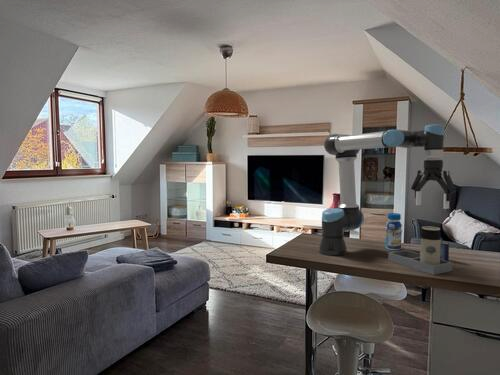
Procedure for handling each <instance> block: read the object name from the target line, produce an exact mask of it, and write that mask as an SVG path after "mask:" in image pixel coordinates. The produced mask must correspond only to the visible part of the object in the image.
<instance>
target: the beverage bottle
mask: <svg viewBox="0 0 500 375" xmlns="http://www.w3.org/2000/svg"><path fill="white" fill-rule="evenodd" d="M401 216H402V215H401V214H400V213H397V212H396V213H395V212H388V213H387V220H388V221H387V222H386V225H385V248H386V249H387V250H390V251H402V233H403V229H402V227H403V224H402V222H401V220H402V218H401Z"/></svg>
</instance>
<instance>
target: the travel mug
mask: <svg viewBox="0 0 500 375" xmlns="http://www.w3.org/2000/svg"><path fill="white" fill-rule="evenodd" d="M421 229H422V232H421V233H420V248H419V249H420V252H419V253H420V262H423V263H426V264H429V265H433V266H434V265H439V264H440V245H441V238H442V236H441V234H440V230H441V228H440V227H438V226H437V227H436V226H430V225H429V226H427V225H425V226H421Z"/></svg>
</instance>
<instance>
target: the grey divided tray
mask: <svg viewBox="0 0 500 375" xmlns="http://www.w3.org/2000/svg"><path fill="white" fill-rule="evenodd" d="M387 256H388V257H387V258H388V259H387V260H388V261H389V262H392V263H395V264H399V265H401V266H405V267H408V268H411V269H414V270H417V271H419V272H423V273H426V274H429V275H433V276H434V275H440V274H444V273H449V272H453V262H452V261H445V260H442V259H440V264H439V265H434V266H433V265H429V264H426V263H423V262H420V252H415V251H411V250H408V249H403V250H402V249H401V250H395V251H391V252H388V253H387Z"/></svg>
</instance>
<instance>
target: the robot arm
mask: <svg viewBox="0 0 500 375" xmlns="http://www.w3.org/2000/svg"><path fill="white" fill-rule="evenodd" d="M444 128H445V127H444V125H443V124H437V123H436V124H427V125H425V126H424V129H422V130H404V129H403V130H402V129H388V130H383V131H382V130H381V131H375V132H367V133H359V134H358V133H357V134H342V133H340V134H337V133H334V134H330V135H328V136H327V137H326V139H325V141H323V142H324V143H323V147H324V150H325V151H326V153H328V154H329V155H331V156H335V157H334V158H335V161H337V162H338V177H339V179H338V180H339V181H338V182H339V195H340V196H339V197H340V200H339V201H340V204H339V205H338V206H337V207H335V208H333V207H332V208H327V209H325V210H323V211H322V212H321V213H322V214H321V239H320V242H319V245H318V253H320V254H323V255H328V256H344V255H346V254H347V253H348V247H347V245H346V242H345V239H344V233H345V232H348V231H354V230H356V229H359V228H361V227H362V225H363V224H364V221H365V216H364V212H362V210H361V209H360V205H359V204H357V192H356V172H355V171H356V170H355V160H356V159H357V158H358V154H359V152H360V151H361V150H368V149H383V148H398V147H400V148H402V149H403V148H404V149H410V148H421V147H422V148H423V149H424V150H423V153H424V154H423V159H424V161H423V170H422V169H420V170H419V169H418V170H417V174H416V176H415V179H414V181H413V183H412V185H411V190H413V191H414V198H415V206H422V189H423V187H424V186H426V184H427V183H428V182H429V181H433V182H434V181H435V182H437V184H439V186H440V187H441V188H442V190H443V191H444V192H445V193H444V194H443V206H442V207H443V209H444V210H446V209H447V210H448V209H450V202H451V201H452V195H453V193H456V192H457V189H456V187H455V185H454V182H453V180H452V177H451V176H450V175H451V174H450V171H449V170H443V168H444V161H443V160H442V159H444V141H445V129H444Z"/></svg>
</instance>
